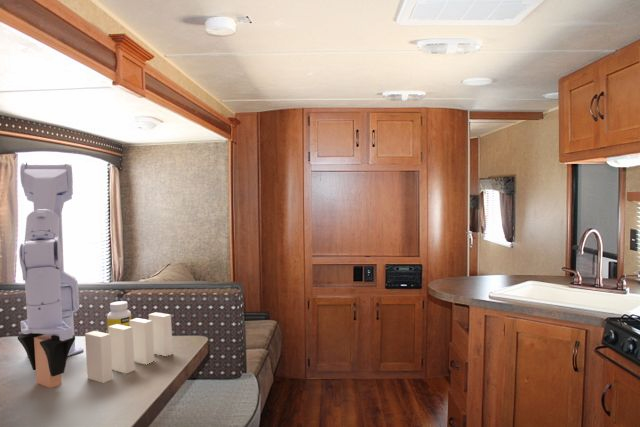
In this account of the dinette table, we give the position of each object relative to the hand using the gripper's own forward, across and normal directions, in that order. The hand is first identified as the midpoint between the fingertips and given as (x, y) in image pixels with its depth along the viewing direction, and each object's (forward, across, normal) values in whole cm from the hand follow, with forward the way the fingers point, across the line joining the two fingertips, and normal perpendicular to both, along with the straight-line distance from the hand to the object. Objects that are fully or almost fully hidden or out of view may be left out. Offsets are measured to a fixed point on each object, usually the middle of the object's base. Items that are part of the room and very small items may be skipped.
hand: (48, 371), depth 87 cm
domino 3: (+2, +7, +16) cm, 18 cm away
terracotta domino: (+2, 0, 0) cm, 2 cm away
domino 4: (+2, +7, +21) cm, 22 cm away
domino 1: (+2, +7, +6) cm, 10 cm away
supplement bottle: (+3, -9, +22) cm, 24 cm away
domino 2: (+2, +7, +11) cm, 13 cm away
